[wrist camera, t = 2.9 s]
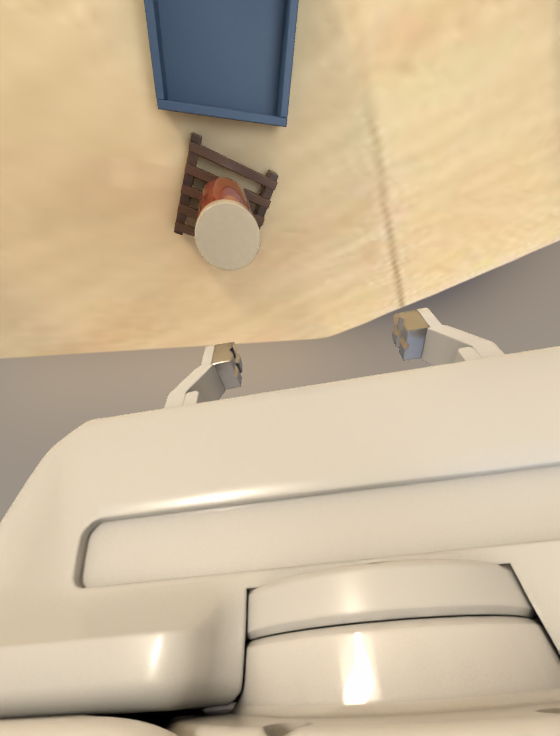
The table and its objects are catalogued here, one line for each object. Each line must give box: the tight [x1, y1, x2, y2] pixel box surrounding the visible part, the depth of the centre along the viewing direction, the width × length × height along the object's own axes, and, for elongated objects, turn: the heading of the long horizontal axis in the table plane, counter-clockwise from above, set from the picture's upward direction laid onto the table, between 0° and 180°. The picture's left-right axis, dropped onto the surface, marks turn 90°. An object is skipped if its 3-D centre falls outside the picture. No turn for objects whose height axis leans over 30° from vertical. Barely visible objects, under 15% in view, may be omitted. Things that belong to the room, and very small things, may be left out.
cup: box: [195, 178, 261, 270], centre depth 30 cm, size 6×6×12 cm
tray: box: [144, 0, 299, 127], centre depth 25 cm, size 14×12×4 cm
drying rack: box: [174, 132, 278, 237], centre depth 35 cm, size 10×10×2 cm
